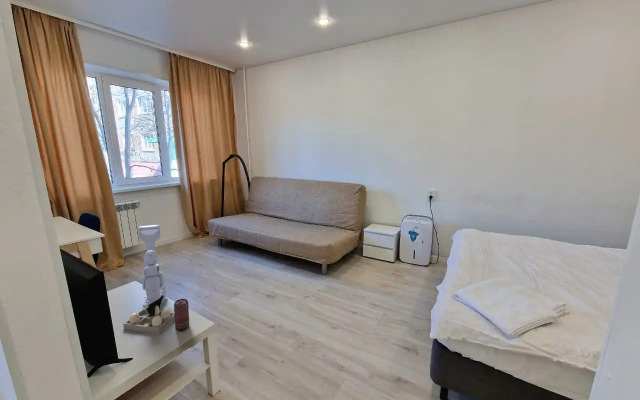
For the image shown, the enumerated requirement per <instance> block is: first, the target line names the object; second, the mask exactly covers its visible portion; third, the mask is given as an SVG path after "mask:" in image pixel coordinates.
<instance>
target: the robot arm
mask: <svg viewBox="0 0 640 400" xmlns="http://www.w3.org/2000/svg"><path fill="white" fill-rule="evenodd" d="M137 231H138V238H139V240H140V242H144V244H145V248H146V249H145V250H146V252H145V253H144V254H143V261H144V263H143V264H144V266H143V274H142V277H141V278H142V279H141V285H142V290H143V291H145V295H144V299H145V300H144V301H143V303H142V309H146V310H147V311H148V313H149V316H155V308H156V306H158V307H159V311H161V305H162V304H163V303H164V302H165V301H167V300H168V297H167V292H166V291H167V290H166V286H165V285H164V284H165V283H164V274H163V272H162V271H160V264H159V258H158V252H157V251H156V241H157V240H160V238H161V226H160V224H152V225H150V224H149V225H139V226H138V230H137ZM166 298H167V299H166Z"/></svg>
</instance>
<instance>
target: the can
mask: <svg viewBox="0 0 640 400" xmlns="http://www.w3.org/2000/svg"><path fill="white" fill-rule="evenodd" d="M173 311H174V312H173V313H174V315H175V320H174V327H175V331H176V332H179V333H181V332H185V331H186V330H188V329H189V327H190V314H189V313H190V309H189V301H188V299H187V298H180V299H177V300H176V301H175V302H174V304H173Z"/></svg>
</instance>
